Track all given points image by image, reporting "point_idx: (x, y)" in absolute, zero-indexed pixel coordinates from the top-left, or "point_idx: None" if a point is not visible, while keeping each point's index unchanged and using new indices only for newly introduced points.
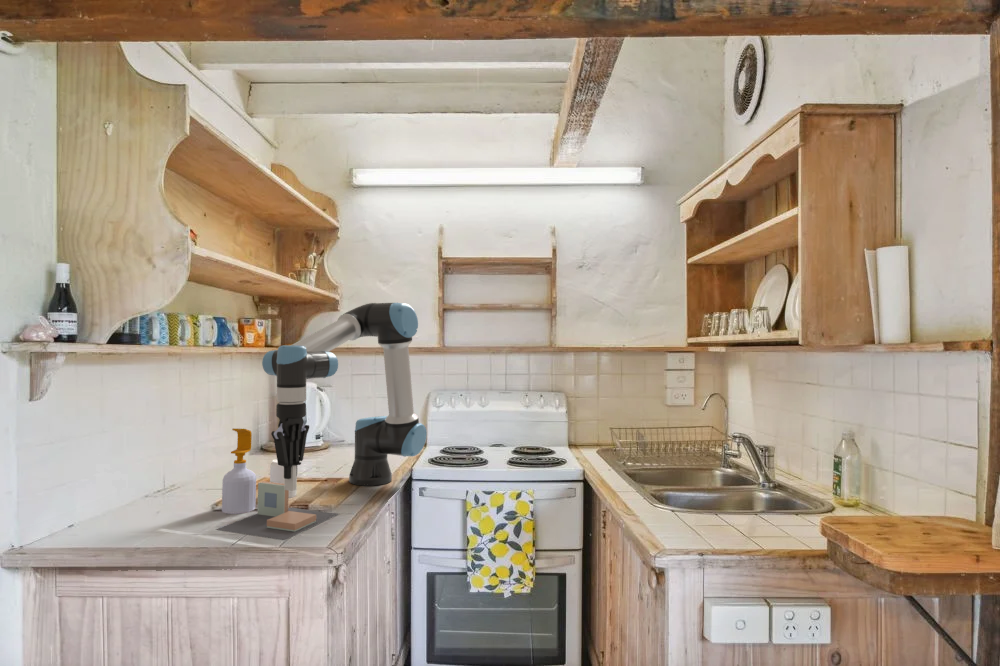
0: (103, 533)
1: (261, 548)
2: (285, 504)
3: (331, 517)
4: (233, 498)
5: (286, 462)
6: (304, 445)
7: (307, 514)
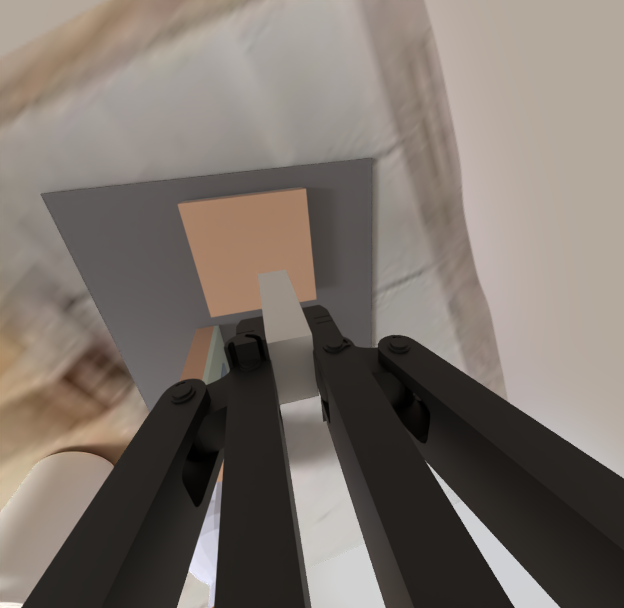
0: (435, 474)
1: (425, 183)
2: (204, 348)
3: (100, 191)
4: None
5: (409, 351)
6: (63, 573)
7: (199, 235)
